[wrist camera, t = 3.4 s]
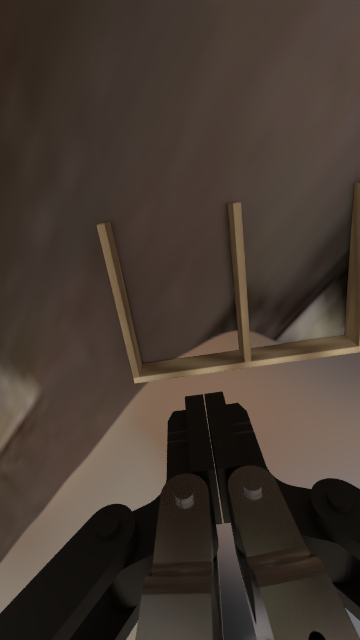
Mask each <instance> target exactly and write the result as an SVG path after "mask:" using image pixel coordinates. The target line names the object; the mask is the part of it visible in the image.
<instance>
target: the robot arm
mask: <svg viewBox="0 0 360 640" xmlns="http://www.w3.org/2000/svg"><path fill="white" fill-rule="evenodd" d="M205 403H206V410H207V417H206V411H205V405H204V398H203V394H201V395H194V396H186V397H185V406H186V410H182V411H174V412H173V413H172V415H171V417H170V418H169V420H168V438H167V439H168V440H167V442H168V444H167V480H166V484H165V485H164V487H163V489H162V492H161V494H160V495H159V496H158V497H157V498H156V499H155V500H154V501H152V502H151V503H149V504H147V505H145V506H143V507H141V508H139V509H137V510H134V511H131V509H129V508H128V507H127V506H125V505H122V504H111V505H108V506H106V507H103V508H102V509H100V510H99V511H97V512H96V513H95V514H94V515H93V516H92V517H91V518H90V519H89V520H88V521H87V522H86V523H85V524H84V526H82V528H81V529H80V530H79V531H78V532H77V533H76V534H75V535H74V536H73V537H72V538H71V539H70V540H69V541H68V542H67V543H66V544H65V545H64V547H63V548H62V549H61V550H60V551H59V552H58V553H57V554H56V555H55V556H54V557H53V558H52V559H51V560H50V561H49V563H47V565H46V566H45V567H44V568H43V569H42V570H41V571H40V572H39V573H38V574H37V575H36V576H35V577H34V578H33V579H32V580H31V581H30V583H29V584H28V585H27V586H26V587H25V588H24V589H23V590H22V591H21V592H20V593H19V594H18V596H16V597H15V598H14V599H13V601H12V602H11V603H10V604H9V605H8V606H7V607H6V608H5V609H4V610H3V611H2V612H1V613H0V640H126V639H127V637H128V636H129V634H130V632H131V631H132V629H133V628H134V626H135V625H136V623H137V621H138V625H137V632H136V640H223V630H222V613H221V596H220V580H219V563H218V535H217V528H216V524H222V519H221V512H220V504H219V497H218V489H217V482H218V487H219V494H220V500H221V507H222V512H223V519H224V523H231V526H232V532H233V537H234V545H235V552H236V556H237V560H238V564H239V568H240V572H241V576H242V580H243V584H244V588H245V592H246V596H247V600H248V604H249V608H250V612H251V616H252V620H253V624H254V628H255V632H256V637H257V640H360V638H359V636H358V634H357V632H356V630H355V627H354V625H353V624H352V621H351V619H350V617H349V615H348V613H347V611H346V609H347V610H349V611H350V612H351V613H352V614H353V615H354V616H355V617H356V618H357V619H359V620H360V489H358V488H357V487H355V486H353V485H352V484H349V483H348V482H345V481H343V480H339V479H333V478H327V479H323V480H320V481H318V482H317V483H315V484H314V485H313V487H312V489H307V488H301V487H296V486H291V485H288V484H285V483H283V482H281V481H279V480H278V479H276V478H275V477H274V476H273V475H272V474H271V473H270V472H269V470H268V469H267V467H266V464H265V461H264V459H263V456H262V453H261V450H260V447H259V445H258V442H257V439H256V436H255V434H254V431H253V428H252V425H251V423H250V419H249V417H248V414H247V411H246V410H245V409H244V408H243V407H242V406H241V405H240V404H239V403H233V404H226V403H225V399H224V396H223V392H215V393H208V394H205ZM207 418H208V423H207ZM208 424H209V430H208ZM209 432H210V437H209ZM210 439H211V442H210ZM211 445H212V448H211ZM212 451H213V455H212ZM213 457H214V461H213ZM214 463H215V467H214ZM215 470H216V474H215ZM216 476H217V482H216ZM345 608H346V609H345Z"/></svg>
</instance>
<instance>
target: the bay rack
mask: <svg viewBox="0 0 360 640" xmlns="http://www.w3.org/2000/svg"><path fill="white" fill-rule="evenodd" d="M227 205H228V217H229V229H230V242H231V254H232V267H233V279H234V291H235V304H236V316H237V329H238V341H239V350H236V351H230V352H222V353H215V354H208V355H201V356H194V357H187V358H179V359H172V360H165V361H158V362H151V363H144V364H142V361H141V356H140V352H139V347H138V343H137V338H136V334H135V330H134V325H133V321H132V316H131V312H130V307H129V303H128V298H127V294H126V289H125V285H124V280H123V276H122V271H121V267H120V262H119V258H118V253H117V249H116V244H115V240H114V235H113V231H112V226H111V222H105V223H101V224H98V225H97V229H98V233H99V237H100V241H101V245H102V249H103V254H104V258H105V262H106V266H107V270H108V274H109V278H110V283H111V287H112V291H113V295H114V299H115V303H116V308H117V312H118V316H119V320H120V324H121V328H122V333H123V337H124V341H125V345H126V349H127V353H128V358H129V362H130V366H131V370H132V374H133V378H134V382H135V383H141V382H148V381H155V380H162V379H169V378H177V377H184V376H191V375H198V374H205V373H212V372H220V371H227V370H234V369H241V368H248V367H255V366H262V365H270V364H277V363H284V362H291V361H298V360H305V359H312V358H319V357H326V356H334V355H341V354H348V353H356V352H360V183H354V198H353V213H352V227H351V242H350V257H349V272H348V287H347V302H346V317H345V333H344V335H342V336H335V337H328V338H320V339H313V340H306V341H299V342H292V343H285V344H278V345H272V346H264V347H258V348H250V336H249V335H250V334H249V319H248V303H247V288H246V273H245V257H244V242H243V226H242V211H241V202H233V203H227Z"/></svg>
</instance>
